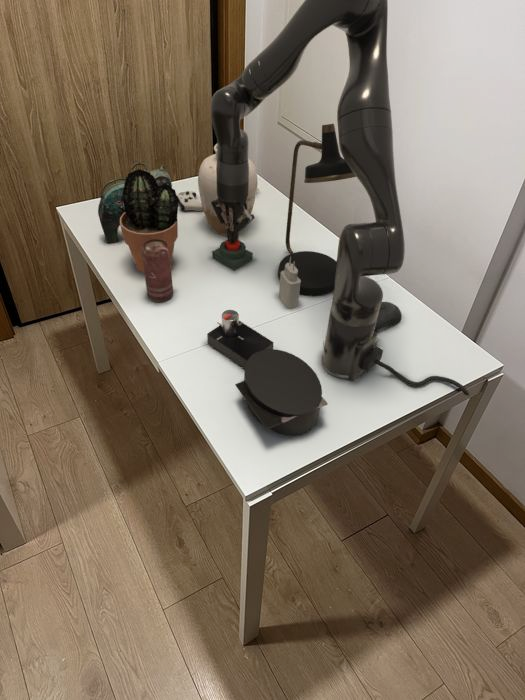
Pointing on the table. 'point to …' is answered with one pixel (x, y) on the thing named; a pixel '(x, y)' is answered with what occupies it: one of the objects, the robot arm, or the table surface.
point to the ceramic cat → (121, 203)
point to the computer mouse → (387, 316)
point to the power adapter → (289, 286)
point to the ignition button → (233, 245)
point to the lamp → (311, 265)
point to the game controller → (189, 201)
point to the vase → (209, 190)
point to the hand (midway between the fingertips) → (232, 241)
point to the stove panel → (238, 343)
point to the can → (157, 270)
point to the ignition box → (232, 256)
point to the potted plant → (148, 214)
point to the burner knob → (230, 323)
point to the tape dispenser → (282, 392)
